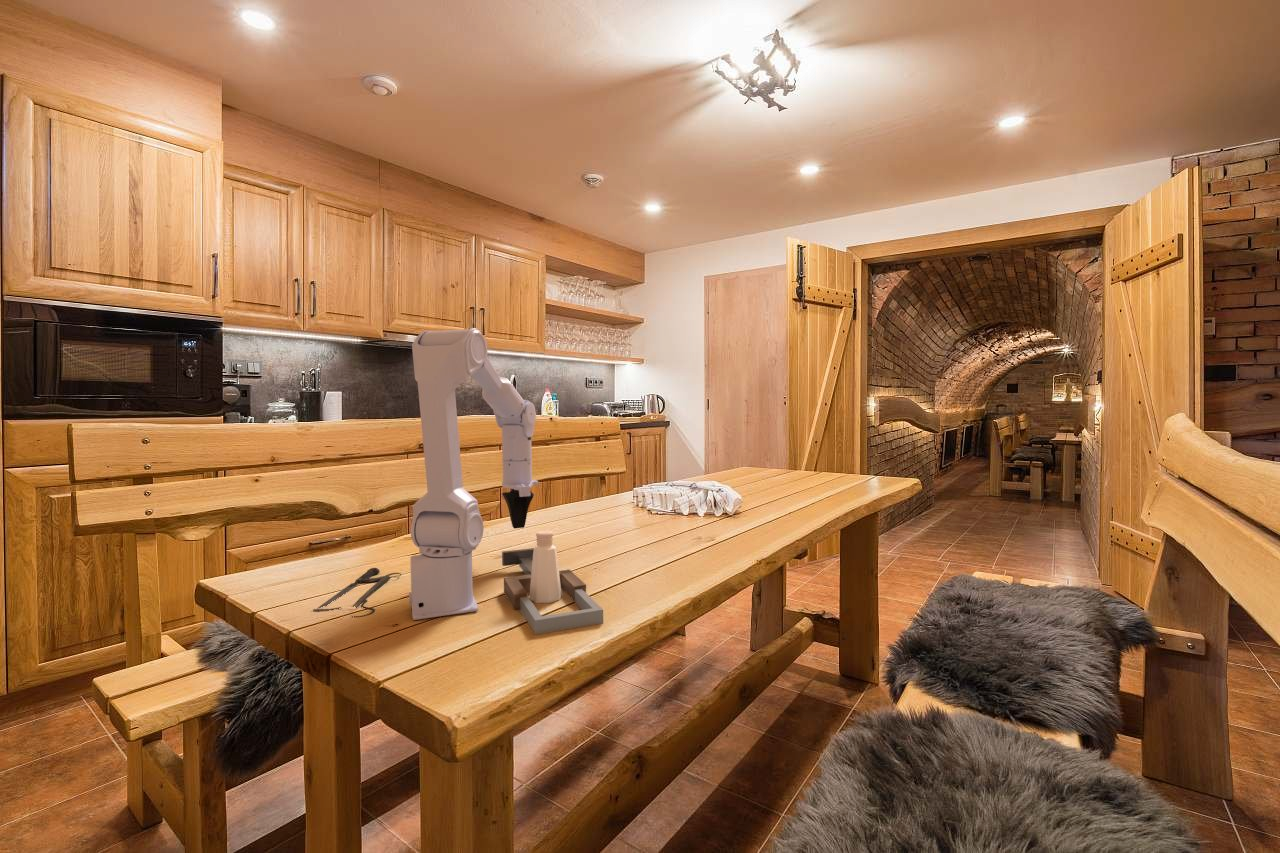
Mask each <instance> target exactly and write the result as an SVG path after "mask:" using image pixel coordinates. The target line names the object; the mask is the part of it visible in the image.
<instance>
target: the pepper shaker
mask: <svg viewBox="0 0 1280 853" xmlns="http://www.w3.org/2000/svg"><path fill="white" fill-rule="evenodd" d="M535 536H536V546H535V547H533V548H534V551H533V561H532V572H531V584H530V593H529V596H528V598H529V599H530V600H531V602H533V601H534V603H535V602H536V604H551V603H554V602H557V600H558V601H560V599H561V597H562V596H563V595H562V593H563V592H562V588H561V584H560V576H559V571H560V569H559V568H560V567H559V560H558V553H557V545H556V546H555V545H554V543H553V541H554V540H553V538H554V532H553V531H551V530H541V531H540V530H539V531H538V532H536V533H535ZM550 602H551V603H550Z"/></svg>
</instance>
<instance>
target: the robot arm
mask: <svg viewBox="0 0 1280 853" xmlns="http://www.w3.org/2000/svg"><path fill="white" fill-rule="evenodd" d="M487 342H488V341H487V339H485V337H484V335H483V333H482V332H481V331H480V330H479V329H478V328H475V327H473V328H472V327H471V328H468V329H453V330H452V329H451V330H450V329H448V330H428V329H427V330H422V331H421V332H420V333H419V334H418V335H417V336H416V338H414V341H413V342H412V344H411V348H412V349H411V351H412V359H413V362H412V363H413V371H414V379H415V381H416V382H417V389H418V400H419V402H418V403H419V412H420V421H421V422H420V423H421V424H420V425H421V435H422V443H423V444H422V445H423V456H424V467H425V477H426V488H427V492H426V493H425V494H424V495H423V496H421V497H420V498H419V499H418V500H417V501H416V502H415V503H414V504H413V506H412V520H411V525H410V537H411V540H412V542H413V544H414V546H416V547H417V548H418V550H419V551H418V553H419V554H416V555H411V556H410V560H409V561H410V592H409V593H408V599H409V601H408V603H409V605H411V614H412V617H411V618H412V620H414V621H417V620H423V619H424V620H425V619H431V618H437V617H442V616H443V617H445V616H450V615H451V616H452V615H458V614H464V613H470V612H471V613H473V612H477V611H478V610H479V605H478V603H477V601H476V599H475V596H474V593H473V588H474V586H473V585H474V584H473V583H474V582H473V551H475V550H476V549H477V548H478V546H479V545H480V543H481V542H482V538H483V536H484V531H485V530H484V526H485V525H484V521H483V518H482V515H481V513H480V512H481V511H480V509H479V501H478V500H477V498H475V497H474V496H473V495H472V494H471V493H470V492H468V491H467V490H466V489H465V488H464V485H463V483H464V482H463V471H462V459H461V450H460V448H461V446H460V437H459V436H460V435H459V423H458V413H457V412H458V410H457V400H456V389H457V388H458V387H459V385H461V383H463V382H464V381H467V380H468V379H470V378H471V379H473V381H474V382H476V384H478V386H479V387H480V388H481V389H482V393H481V394H482V398H483V400H484V401H485V402H486V403H487V404H488V406H489V407H490V408H491V409H492V410H493V415H494V417H495V421H496V424H497V426H498V427H499V428H501V441H502V442H501V445H502V447H501V450H502V451H501V453H502V482H501V487H502V488H507V489H510V490H509V491H506V492H505V491H504V492H501V495H502V496H503V498H504V500H505V503H506V505H507V509H508V513H509V518H510V522H511V527H512V528H513V529H523V528H525V526H526V522H527V516H528V511H529V508H530V504H531V502H532V500H533V499H534V493H533V492H532V491H531V488H532V487H533V486H534V485H535V486H536V485H539V480H537V479H533V467H532V466H533V463H532V462H533V460H532V459H533V456H532V451H533V450H532V437H533V436H534V434H535V425H536V420H537V413H536V407H535V405H534V403H533V402H531V401H530V400H529V399H523V397H522V396H521V395H520V393H519V392H518V391H517V389H516V388H515V386H514V385H513V384H512V383H511V381H510V380H509V379H508V377H503V376H499V375H498V374H499V373H497V371H496V370H495V367H494V366H493V365H492V363H491V361H490V360H489V358H488V343H487Z"/></svg>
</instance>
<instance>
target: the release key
mask: <svg viewBox="0 0 1280 853" xmlns="http://www.w3.org/2000/svg"><path fill="white" fill-rule="evenodd" d="M534 548H535V547H531V548H523V549H512V550H505V551H501V562H502V563H501V565H502V566H503V567H507V566H514V565H515V566H516V565H519V568H521V570H522V572H523V573H524V575H531V572H532V561H533V551H534Z"/></svg>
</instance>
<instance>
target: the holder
mask: <svg viewBox="0 0 1280 853" xmlns="http://www.w3.org/2000/svg"><path fill="white" fill-rule="evenodd" d="M559 576H560V584H561V590H563V591H564V592H565V594H566V595H567V596H568V597H569V598H571V600H572V601H574V602H573V603H575V590H577V589H582V590H583V591H584V592H586V593H587V584H586V583H585V582H583V581H582V580H581V578H579V577H578V576H577V575H576V574H575V573H574V572H573V571H572V570H570V569H564V570H563V569H562V570H559ZM530 584H531V575H526V574H523V575H516V576H508V577H507V576H506V577H503V593H504V595H505V597H506V599H507V600H508V601H509V603H510V605H511V607H512V608H513V610H514V611H520V598H521V597H528V594H530Z"/></svg>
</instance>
